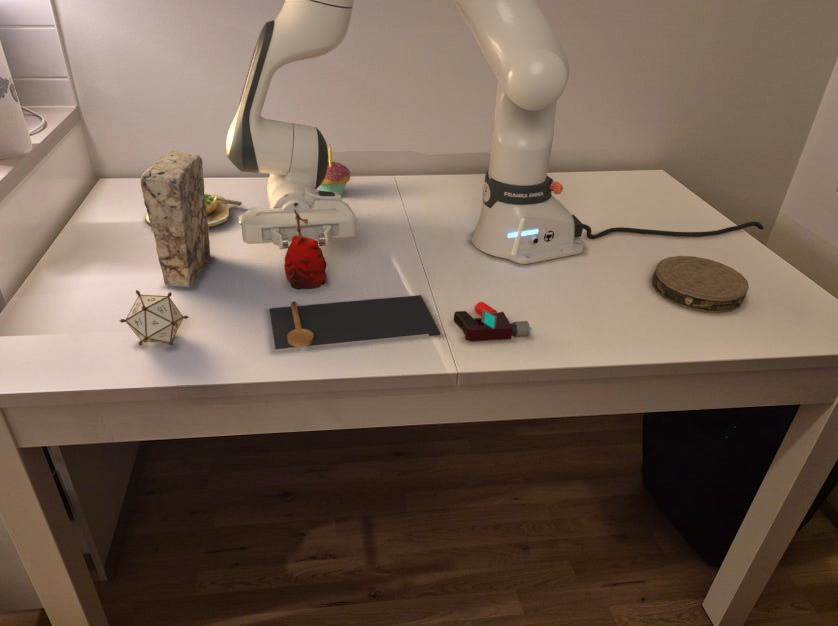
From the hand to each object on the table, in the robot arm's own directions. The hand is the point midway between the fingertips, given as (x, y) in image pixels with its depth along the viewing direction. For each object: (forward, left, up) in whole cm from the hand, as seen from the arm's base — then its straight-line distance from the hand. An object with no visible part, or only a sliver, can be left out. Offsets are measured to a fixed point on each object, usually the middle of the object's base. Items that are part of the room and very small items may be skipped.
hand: (304, 243), depth 111 cm
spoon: (+3, +13, -8) cm, 16 cm away
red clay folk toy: (0, 0, -8) cm, 8 cm away
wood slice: (-70, +14, -8) cm, 72 cm away
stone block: (+20, -8, -8) cm, 23 cm away
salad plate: (+21, -33, -8) cm, 40 cm away
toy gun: (-28, +19, -8) cm, 35 cm away
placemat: (-6, +14, -8) cm, 17 cm away
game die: (+24, +14, -8) cm, 29 cm away
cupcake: (-11, -41, -8) cm, 44 cm away
